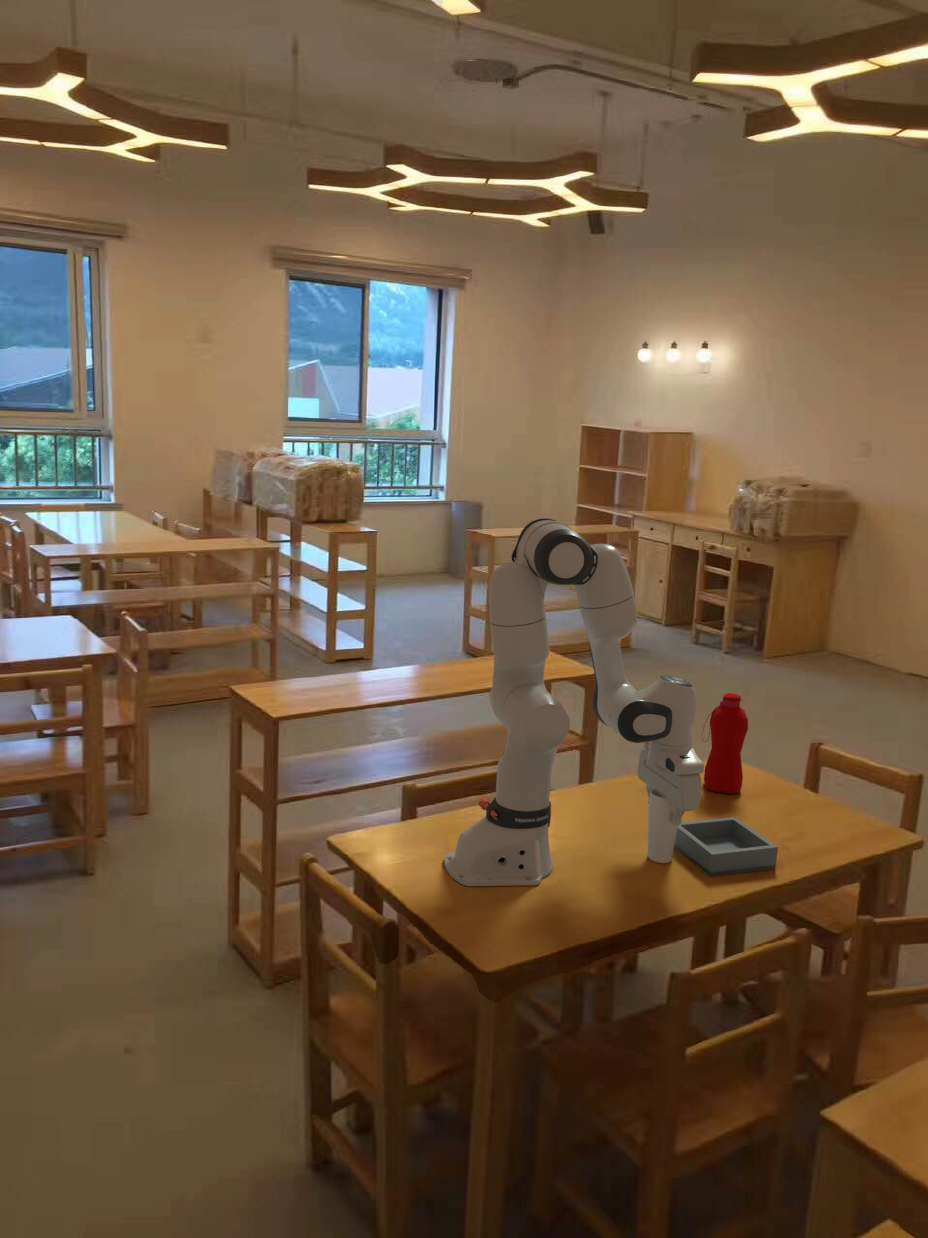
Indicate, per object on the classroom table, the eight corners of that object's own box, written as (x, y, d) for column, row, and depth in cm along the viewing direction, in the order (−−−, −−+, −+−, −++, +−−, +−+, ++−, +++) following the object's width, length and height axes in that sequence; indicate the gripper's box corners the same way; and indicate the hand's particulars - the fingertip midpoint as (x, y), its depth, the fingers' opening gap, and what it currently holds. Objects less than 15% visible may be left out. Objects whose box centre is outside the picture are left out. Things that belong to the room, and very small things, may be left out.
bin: (709, 877, 208) (712, 854, 207) (670, 844, 223) (672, 823, 222) (775, 869, 213) (778, 847, 212) (732, 837, 228) (735, 817, 227)
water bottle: (695, 779, 263) (705, 687, 258) (738, 783, 262) (749, 691, 257) (697, 792, 255) (707, 697, 249) (742, 796, 253) (753, 701, 248)
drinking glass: (676, 867, 211) (682, 800, 208) (643, 863, 213) (649, 797, 210) (676, 854, 218) (682, 789, 215) (644, 850, 219) (650, 785, 216)
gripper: (633, 737, 219) (627, 797, 222) (681, 770, 200) (675, 835, 203) (658, 735, 221) (653, 795, 224) (709, 768, 202) (702, 832, 205)
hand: (664, 814), depth 213 cm, fingers open, 8 cm apart
